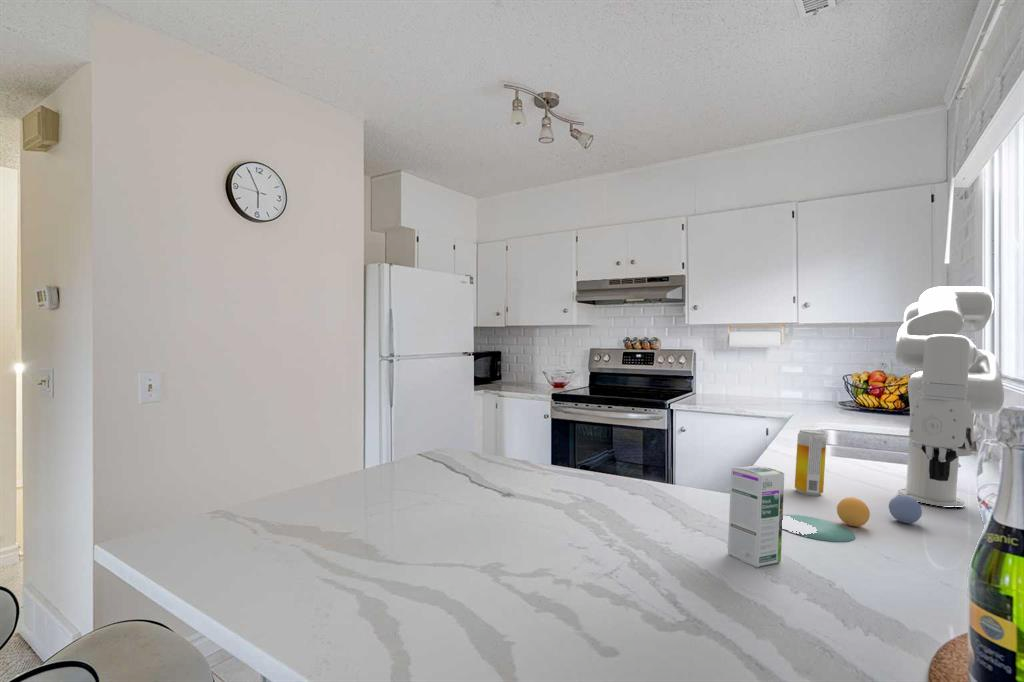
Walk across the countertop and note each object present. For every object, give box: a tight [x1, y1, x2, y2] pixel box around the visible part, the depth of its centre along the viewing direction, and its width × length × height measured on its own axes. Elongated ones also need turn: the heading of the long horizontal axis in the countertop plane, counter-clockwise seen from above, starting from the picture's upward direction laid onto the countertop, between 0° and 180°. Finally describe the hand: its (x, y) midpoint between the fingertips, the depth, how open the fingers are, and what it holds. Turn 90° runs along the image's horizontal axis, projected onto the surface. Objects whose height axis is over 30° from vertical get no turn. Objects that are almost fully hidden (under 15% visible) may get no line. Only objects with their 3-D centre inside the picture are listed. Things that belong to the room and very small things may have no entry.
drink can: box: [794, 429, 827, 497], centre depth 128 cm, size 6×6×15 cm
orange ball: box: [836, 496, 871, 527], centre depth 104 cm, size 6×6×6 cm
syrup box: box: [727, 464, 785, 568], centre depth 85 cm, size 6×6×14 cm
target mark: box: [785, 514, 857, 543], centre depth 102 cm, size 14×14×1 cm
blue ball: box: [888, 495, 923, 524], centre depth 108 cm, size 6×6×6 cm
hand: (938, 479), depth 110 cm, fingers closed
